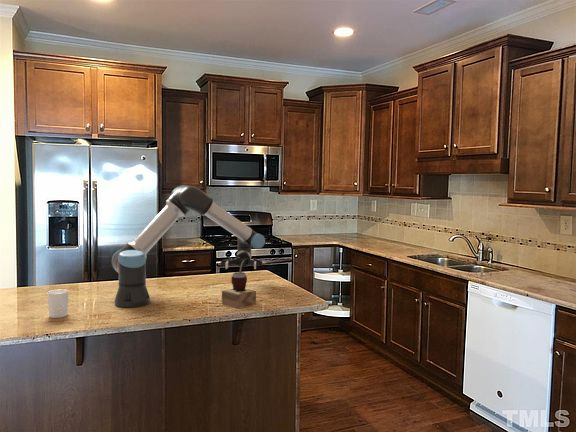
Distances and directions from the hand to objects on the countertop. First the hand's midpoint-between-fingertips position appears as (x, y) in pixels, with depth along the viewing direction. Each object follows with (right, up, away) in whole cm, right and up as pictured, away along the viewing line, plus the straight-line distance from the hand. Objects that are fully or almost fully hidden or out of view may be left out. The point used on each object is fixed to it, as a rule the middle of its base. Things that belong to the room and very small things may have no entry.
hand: (240, 266), depth 220 cm
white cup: (-71, -17, -31) cm, 79 cm away
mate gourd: (0, -10, -9) cm, 14 cm away
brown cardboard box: (0, -16, -8) cm, 18 cm away
